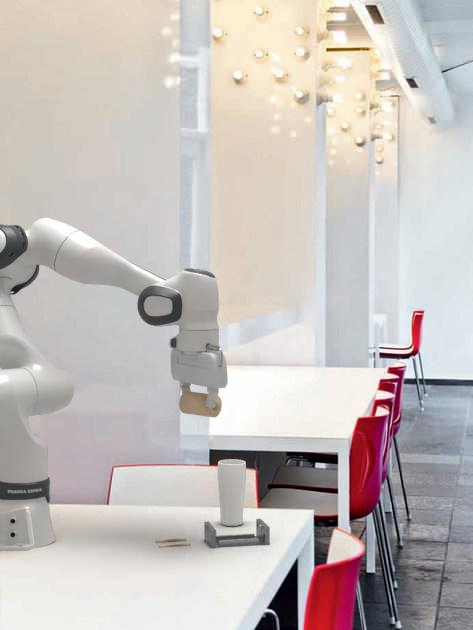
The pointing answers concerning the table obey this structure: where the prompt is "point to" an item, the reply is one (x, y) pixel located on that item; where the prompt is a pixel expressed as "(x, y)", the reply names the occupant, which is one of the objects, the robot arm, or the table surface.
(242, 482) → the drinking glass
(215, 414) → the roll
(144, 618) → the table surface
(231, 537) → the holder
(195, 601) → the table surface
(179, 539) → the chock
